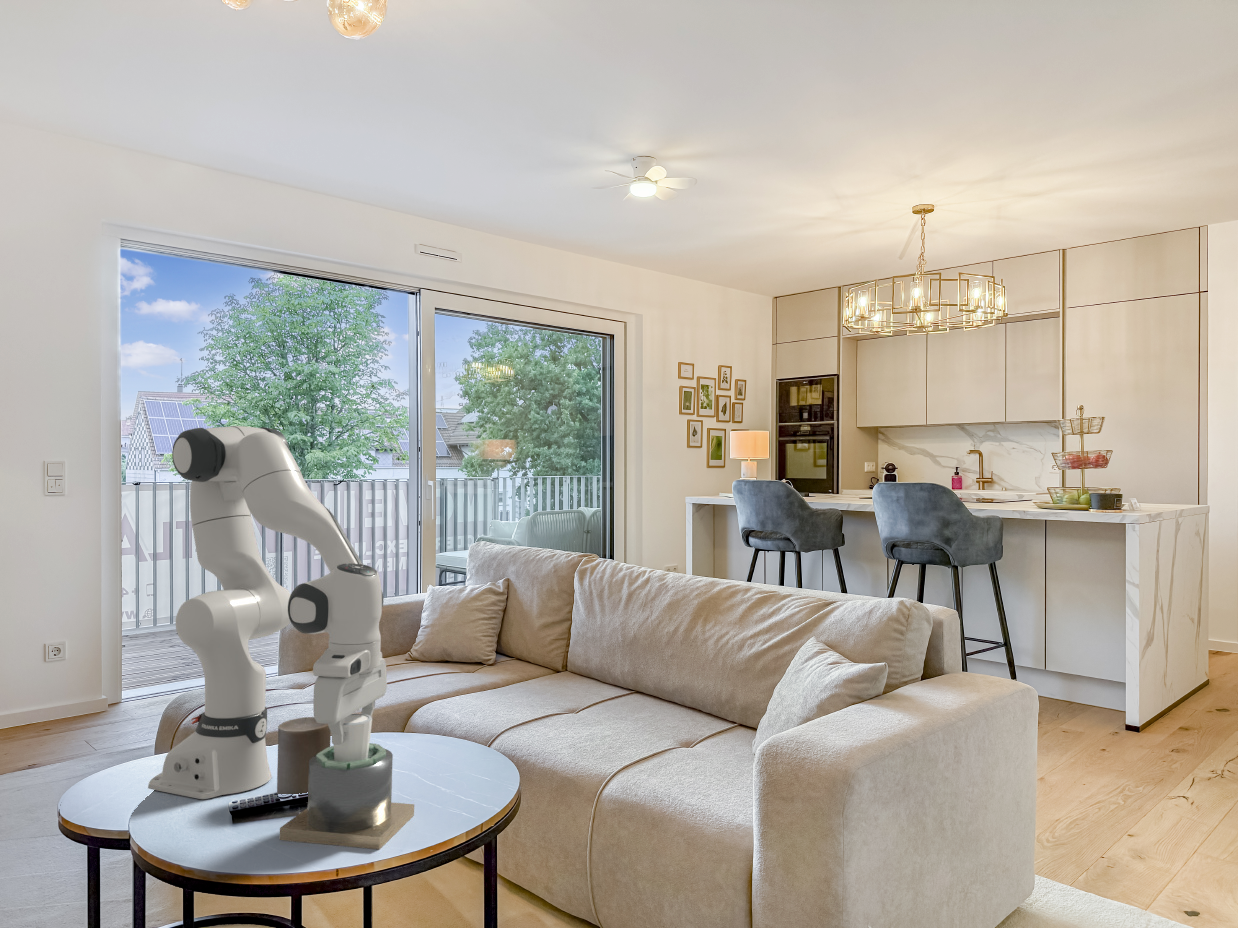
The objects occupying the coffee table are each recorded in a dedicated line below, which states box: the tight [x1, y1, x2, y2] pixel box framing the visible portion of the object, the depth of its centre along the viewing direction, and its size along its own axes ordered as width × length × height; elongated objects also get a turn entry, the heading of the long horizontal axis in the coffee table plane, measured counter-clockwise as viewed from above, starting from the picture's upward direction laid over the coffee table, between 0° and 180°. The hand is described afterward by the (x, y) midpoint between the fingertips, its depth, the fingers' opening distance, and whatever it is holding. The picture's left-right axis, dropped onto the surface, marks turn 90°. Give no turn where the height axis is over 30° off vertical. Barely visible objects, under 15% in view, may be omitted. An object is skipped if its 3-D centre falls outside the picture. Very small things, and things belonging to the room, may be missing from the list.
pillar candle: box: [276, 716, 332, 795], centre depth 154 cm, size 10×10×15 cm
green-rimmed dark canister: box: [279, 742, 415, 850], centre depth 140 cm, size 18×14×13 cm
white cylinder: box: [332, 713, 373, 762], centre depth 140 cm, size 7×7×7 cm
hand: (352, 734), depth 140 cm, fingers open, 8 cm apart
